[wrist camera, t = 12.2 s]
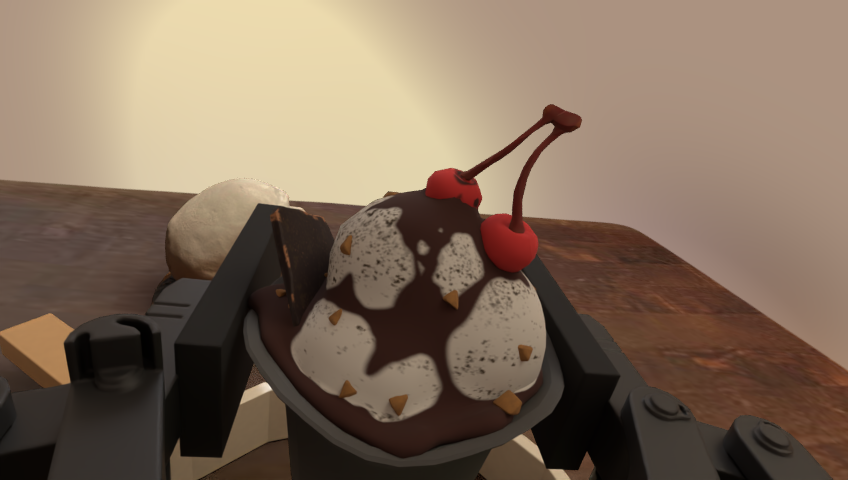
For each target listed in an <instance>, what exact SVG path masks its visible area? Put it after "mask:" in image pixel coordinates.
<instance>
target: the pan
mask: <svg viewBox="0 0 848 480" xmlns="http://www.w3.org/2000/svg"><path fill="white" fill-rule="evenodd" d="M73 330H74V329H72V328H71V327H69V326H68V325H67V324H65V323H64V322H62V321H61V320H60V319H58V318H57V317H55V316H54V315H53V314H51V313H49V314H47V315H44V316H41V317H38V318H36V319H33V320H30V321H27V322H25V323H22V324H19V325H17V326H14V327H11V328H8V329H6V330H3V331H0V346H1V350H2V354H3V355H4V356H5V357H6V358H8V359H9V360H10V361H11V362H12V363H14V364H15V365H16V366H17V367H19V368H20V369H21V370H22V371H23V372H25V373H26V374H27V375H28V376H29V377H31V378H32V379H33V380H34V381H35V382H37V383H38V384H39V385H40V386H41V387H43V388H48V387H54V386H58V385H63V384H68V383H70V377H69V371H68V366H67V360H66V355H65V349H64V344H63V343H64V341H65V340H66V338H67V337H68V335H69V334H70V332H72V331H73ZM285 438H288V430H287V418H286V408H285V404H284V403H283V402H282V401H281V400H280V399H279V398H278V397H277V395H276V394H275V393H274V391H273V390H272V389H271V387H270V386H269V384H268V383H267V382H266V383H265V382H264V383H261V384H259V385H257V386H254V387H252V388H250V389H248V390H245V391H244V393H243V396H242V399H241V402H240V405H239V408H238V411H237V414H236V417H235V420H234V423H233V426H232V429H231V432H230V435H229V438H228V441H227V444H226V447H225V450H224V453H223V456H222V458H208V457H181V456H180V440H178V442H177V444H176V446H175V448H174V451H173V453H172V455H171V457H170V465H171V480H198V479H200V478H202V477H204V476H206V475H208V474H209V473H211V472H213V471H215V470H217V469H219V468H221V467H222V466H224V465H226V464H228V463H230V462H232V461H233V460H235V459H237V458H239V457H241V456H243V455H245V454H246V453H248V452H250V451H252V450H254V449H256V448H258V447H259V446H261V445H263V444H265V443H267V442H270V441H275V440H280V439H285ZM479 473H480V474H481V475H482V476H483V477H484V478H485V479H487V480H570V478H569V477H568V476H567V474H566V473H565V472H564V470H560V469H546V467H545V464H544V461H543V459H542V456H541V454H540V451H539V449H538V446H537V445H535V444H534V443H533V442H531V441H530V440H529V439H528V438H526V437H525V436H524V435H522V434H521V435H519V436H517V437H516V438H514V439H512V440H511V441H509V442H507V443H506V444H504V445H502V446H499V447H496V448H493V449H492V450H491V451H490V453H489V455H488V456H487V458H486V460H485V462H484V464H483V466H482V467H481V469H480V471H479Z"/></svg>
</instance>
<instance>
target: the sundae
mask: <svg viewBox="0 0 848 480" xmlns="http://www.w3.org/2000/svg"><path fill="white" fill-rule="evenodd" d="M581 122H582V119H581V117H580V116H578V115H576V114H573V113H571V112H568V111H565V110H563V109H561V108H559V107H557V106H555V105H553V104H550V105H548V106H547V107H545V109H544V110H543V117H542V118H541V119H540V120H539V121H538V122H537V123H536V124H535V125H533V126H532V127H531V128H530V129H528V130H527V131H526V132H525V133H524V134H522V135H521V136H520V137H518V138H517V139H516V140H515V141H514V142H512V143H511V144H510V145H508V146H507V147H505V148H504V149H503V150H501V151H499V152H498V153H496V154H494V155H493V156H491V157H490V158H488V159H486V160H485V161H483V162H481V163H480V164H478V165H476V166H475V167H474V168H472V169H470V170H468V171H465V172H463V171H460V170H458V169H454V168H449V169H444V170H439V171H435V172H434V173H433V174H432V175H431V176H430V177H429V178H428V181H427V186H426V188H425V189H423V190H419V191H411V192H404V193H397V192H389V191H388V192H387V193H386V194H385V195H384V197H383V198H381V199H377V200H375V201H373V202H371V203H370V204H369V205H367V206H366V207H365V208H363V209H362V210H361V211H359V212H358V213H356V214H355V215H354V216H352V217H351V218H350V219H348V220H347V221H346V222H344V223H343V224H342V225H341V226H340V229H339V231H338V234H337V237H336V239H335V241H334V238H333V236H332V234H331V231H330V229H329V227H328V225H327V223H326V221H325V219H324V218H323V217H322V216H316V215H311V214H308V213H306V212H304V211H302V210H299V209H293V208H288V207H284V206H278V207H276V208H274V209H273V211H272V213H271V215H270V219H271V224H272V230H273V235H274V240H275V245H276V250H277V255H278V260H279V264H280V268H281V272H282V276H281V277H280V278H278V279H277V280H275V281H274V282H273V283H272V284H271V285H270V286H266V287H263V288H260V289H258V290H257V291H255V292H254V293H252V294H251V296H250V297H249V299H248V308H249V312H248V314H247V315H246V317H245V319H244V327H243V334H244V340H245V346H246V350H247V352H248V353H249V355H250V357H251V358H252V360H253V362H254V363H255V365H256V367H257V369H258V370H259V372H260V374H261V375H262V376H263V378H264V379H265V380H266V382H267V383H268V384H269V386H270V387H271V389H272V390H273V391H274V393H275V394H276V395H277V397H278V398H279V399H280V400H281V401H282V402H283V403H284V404H285V408H286V418H287V430H288V442H289V455H290V467H291V475H292V480H475V478H476V477H477V475H478V473H479V471H480V469H481V467H482V466H483V464H484V462H485V460H486V458H487V456H488V455H489V453H490V451H491V450H492V449H493V448H496V447H499V446H502V445H504V444H506V443H507V442H509V441H511V440H512V439H514V438H516V437H517V436H519V435H521V434H522V433H524V432H526V431H528V430H529V429H531V428H532V427H533V426H535V425H536V424H537V423H539V422H540V421H541V420H543V419H544V418H545V417H547V416H548V415H549V414H551V413H552V412H553V410H554V408H555V407H556V405H557V403H558V402H559V400H560V398H561V396H562V393H563V389H564V380H563V373H562V370H561V366H560V363H559V360H558V357H557V355H556V352H555V349H554V347H553V344H552V342H551V339H550V337H549V335H548V333H547V331H546V328H545V319H544V315H543V310H542V306H541V303H540V300H539V298H538V295H537V293H536V288H535V287H534V286H533V285H532V284H531V283H530V281H529V280H528V278H527V277H526V276H525V275H524V273H523V272H522V271H521V269H523V268H524V267H526V266H527V265H529V264H530V263H531V262H532V260H533V259H534V258H535V256H536V252H537V248H538V239H537V236H536V235H535V234H534V232H533V231H532V229H531V228H530V227H529V225H528V224H526V223H525V222H524V221H522V199H523V195H524V190H525V186H526V182H527V178H528V176H529V173H530V171H531V168H532V167H533V165H534V163H535V162H536V160H537V158H538V157H539V155H540V154H541V152H542V151H543V150H544V149H545V148H546V147H547V146H548V145H549V144H550V143H551V142H552V141H554V140H555V139H556V138H557V137H558V136H560V135H561V134H563V133H567V132H572V131H574V130H576V129H577V128H579V127H580V125H581ZM548 123H552V124H553V125H554V126H555V127H554V129H553V132H552V133H551V134H550V135H549V136H548V137H547V138H546V139H545V140H544V141H543V142H542V143H541V144H540V145H539V146H538V147H537V149H536V150H535V151H534V152H533V154H532V155H531V156H530V157H529V159H528V161H527V162H526V164H525V166H524V167H523V170H522V172H521V174H520V177H519V179H518V182H517V185H516V187H515V190H514V195H513V206H512V215H509V214H495V215H493V216H490V217H488V218H487V219H486V220H485V219H482V218H481V217H480V215H479V212H478V207H479V205H480V203H481V200H482V195H481V192H480V189H479V186H478V183H477V181H476V179H474V177H475V176H476V175H478V174H479V173H480V172H482V171H483V170H485V169H486V168H487V167H489V166H490V165H492V164H493V163H495V162H497V161H499V160H500V159H502V158H503V157H504V156H506V155H507V154H509V153H510V152H511V151H512V150H514V149H515V148H516V147H517V146H518V145H520V144H521V143H522V142H523V141H524V140H525V139H526V138H527V137H528V136H529V135H531V134H532V133H533V132H534V131H536V130H538V129H539V128H540V127H542V126H543V125H545V124H548Z"/></svg>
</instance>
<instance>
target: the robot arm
mask: <svg viewBox="0 0 848 480" xmlns="http://www.w3.org/2000/svg"><path fill="white" fill-rule="evenodd" d="M276 207H278V205H269V204H261V203H258V204H257V206H256V207H255V209H254V211H253V212H252V214H251V216H250V217H249V219H248V221H247V222H246V224H245V226H244V227H243V229H242V231H241V232H240V234H239V236H238V237H237V239H236V241H235V242H234V244H233V246H232V247H231V249H230V251H229V252H228V254H227V256H226V257H225V259H224V261H223V262H222V264H221V266H220V267H219V269H218V271H217V272H216V274H215V276H214V277H213V279H212V281H211V280H201V279H190V278H181V279H179V280H178V281H176V282H174V283H173V284H171V285H169V286H168V287H166V288H164V290H163V291H162V292H161V293H160V295H159V296H158V297H157V299H156V300H155V301H154V304H152V305H151V307H150V308H149V309H148V311H147V312H146V315H145V316H142V315H137V314H114V315H109V316H103V317H99V318H96V319H94V320H91V321H89V322H86V323H84V324H82V325H80V326H79V327H78V328H76V329H75V330H73V331H72V332H70V334H69V335H68V337H67V338H66V340H65V341H64V343H63V344H64V349H65V355H66V360H67V366H68V371H69V377H70V383H68V384H63V385H58V386H54V387H48V388H41V389H34V390H28V391H21V392H14V393H11V391H10V387H9V384H8V381H7V379H5V378H3V377H1V376H0V480H171V465H170V457H171V455H172V453H173V451H174V448H175V446H176V444H177V442H178V440H180V456H181V457H208V458H222V456H223V453H224V450H225V447H226V444H227V441H228V438H229V435H230V432H231V429H232V426H233V423H234V420H235V417H236V414H237V411H238V408H239V405H240V402H241V399H242V396H243V393H244V390H245V387H246V384H247V381H248V378H249V376H250V373H251V370H252V367H253V364H254V362H253V360H252V358H251V357H250V355H249V353H248V352H247V350H246V346H245V340H244V334H243V327H244V319H245V317H246V315H247V314H248V312H249V308H248V299H249V297H250V296H251V294H252V293H254V292H255V291H257V290H258V289H260V288H263V287H266V286H270V285H271V284H272V283H273V282H274V281H275V280H277V279H278V278H280V277H281V268H280V264H279V260H278V255H277V250H276V245H275V240H274V235H273V230H272V224H271V219H270V215H271V213H272V211H273V209H274V208H276ZM521 271H522V272H523V273H524V275H525V276H526V277H527V278H528V280H529V281H530V283H531V284H532V285H533V286H534V287H535V288H536V293H537V295H538V298H539V300H540V303H541V306H542V310H543V315H544V319H545V328H546V331H547V333H548V335H549V337H550V339H551V342H552V344H553V347H554V349H555V352H556V355H557V357H558V360H559V363H560V366H561V370H562V373H563V380H564V389H563V393H562V396H561V398H560V400H559V402H558V403H557V405H556V407H555V408H554V410H553V412H552V413H551V414H549V415H548V416H547V417H545V418H544V419H543V420H541V421H540V422H539V423H537V424H536V425H535V426H533V427H532V428H531V430H532V433H533V436H534V438H535V441H536V443H537V446H538V449H539V451H540V454H541V456H542V459H543V461H544V464H545V467H546V469H560V470H578V469H579V467H580V465H581V463H582V460H583V458H584V456H585V454H586V452H588V454H589V456H590V458H591V460H592V462H593V464H594V466H595V467H594V469H593V471H592V473H591V475H590V477H589V480H833V479H832V478H831V477H830V475H829V474H828V473H827V472H826V471H825V470H824V469H823V468H822V467H821V465H820V464H819V463H818V462H817V461H816V460H815V459H814V458H813V457H812V455H811V454H810V453H809V452H808V451H807V450H806V449H805V448H804V447H803V445H802V444H801V443H799V442H798V441H797V440H796V439H795V438H794V437H793V436H792V435H791V434H789V433H788V432H786V431H785V430H783V429H782V428H781V427H780V426H778V425H776V424H774V423H771V422H770V421H768V420H765V419H762V418H758V417H755V416H751V415H742V416H739V417H738V418H736V419H735V420H734V422H733V424H732V425H731V427H730V429H729V430H725V429H722V428H719V427H715V426H712V425H709V424H705V423H702V422H699V421H696V419H695V417H694V415H693V414H692V412H691V411H690V409H689V408H688V407H687V406H686V405H685V404H683V403H682V402H681V401H680V400H679V399H677V398H676V397H674V396H672V395H671V394H669V393H668V392H665V391H663V390H660V389H658V388H655V387H649V386H648V385H647V384H646V382H645V381H644V380H643V378H642V377H641V375H640V374H639V373H638V371H637V370H636V369H635V367H634V366H633V365H632V363H631V362H630V361H629V359H628V358H627V357H626V355H625V354H624V353H622V352H621V351H622V350H621V349H620V347H619V346H618V345H617V343H616V342H614V341H613V340H614V339H613V338H612V337H611V335H610V334H609V333H608V331H607V330H606V329H605V327H604V326H602V325H601V324H600V323H599V322H597V321H596V320H595V319H593V318H592V317H591V316H590V315H585V314H578V313H577V312H576V310H575V309H574V307H573V306H572V305H571V303H570V302H569V300H568V299H567V297H566V296H565V294H564V293H563V292H562V290H561V289H560V287H559V286H558V284H557V283H556V281H555V280H554V279H553V277H552V276H551V274H550V273H549V271H548V270H547V268H546V267H545V266H544V264H543V263H542V261H541V260H540V258H539V257H538V255H537V254H536V256H535V258H534V259H533V260H532V262H531V263H530V264H529V265H527V266H526V267H524V268H523V269H521Z"/></svg>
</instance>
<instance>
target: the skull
mask: <svg viewBox="0 0 848 480" xmlns="http://www.w3.org/2000/svg"><path fill="white" fill-rule="evenodd" d="M258 203H261V204H269V205H278V206H284V207H288V208H293V209H299V210H302V211H304V210H303V209H302V208H300V207H291V206H289V196H288V195H287V193H286V192H285V191H283V190H281V189H279V188H277V187H275V186H272V185H270V184H267V183H265V182H262V181H259V180H255V179H245V178H244V179H232V180H228V181H224V182H221V183H218V184H216V185H213V186H211V187H209V188H207V189H205V190H204V191H202V192H201V193H199V194H198V195H196V196H195V197H193V198H192V199H191V200H189V201H188V202H187V203H186V204H185V205H184V206H183V207H182V208H181V209H180V210H179V211H178V212H177V213H176V214H175V216H174V217H173V218H172V219H171V220H170V221H169V224H168V226H167V231H166V239H165V252H166V262H167V265H168V268H169V271H170V272H169V273H168V274H167V275H166V276H165V277H164V279H163V280H162V281H161V283H160V284H159V285H158V287H157V290H156V289H155V293H154V296H153V300H152V304H154V301H155V300H156V299H157V297H158V296H159V295H160V293H161V292H162V291H163V290H164V288H166V287H168V286H169V285H171V284H173V283H174V282H176V281H178V280H179V279H181V278H190V279H201V280H211V281H212V279H213V277H214V276H215V274H216V272H217V271H218V269H219V267H220V266H221V264H222V262H223V261H224V259H225V257H226V256H227V254H228V252H229V251H230V249H231V247H232V246H233V244H234V242H235V241H236V239H237V237H238V236H239V234H240V232H241V231H242V229H243V227H244V226H245V224H246V222H247V221H248V219H249V217H250V216H251V214H252V212H253V211H254V209H255V207H256V206H257V204H258ZM304 212H305V211H304ZM281 276H282V272H281Z"/></svg>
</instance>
